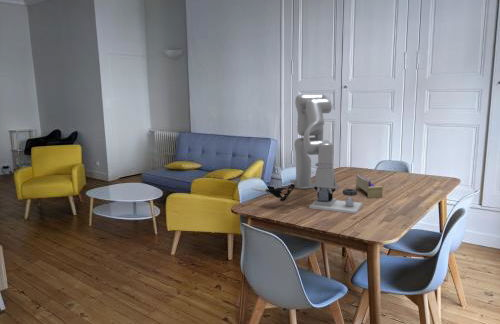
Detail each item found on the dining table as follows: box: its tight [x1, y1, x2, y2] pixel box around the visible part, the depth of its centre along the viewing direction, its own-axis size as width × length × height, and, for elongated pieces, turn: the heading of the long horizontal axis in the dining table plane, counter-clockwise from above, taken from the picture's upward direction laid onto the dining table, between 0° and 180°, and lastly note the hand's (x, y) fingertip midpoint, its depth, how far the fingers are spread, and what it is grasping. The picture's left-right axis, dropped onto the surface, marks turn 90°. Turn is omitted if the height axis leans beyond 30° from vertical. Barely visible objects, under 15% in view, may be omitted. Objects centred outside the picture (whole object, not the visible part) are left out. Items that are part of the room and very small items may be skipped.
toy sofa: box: [355, 173, 384, 199], centre depth 227 cm, size 21×9×10 cm, turn 5°
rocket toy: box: [251, 183, 295, 202], centre depth 205 cm, size 14×6×23 cm
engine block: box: [319, 188, 330, 202], centre depth 204 cm, size 5×6×7 cm
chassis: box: [308, 196, 363, 214], centre depth 202 cm, size 24×16×6 cm, turn 63°
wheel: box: [342, 188, 358, 197], centre depth 198 cm, size 7×7×2 cm
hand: (325, 199), depth 205 cm, fingers closed on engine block, 5 cm apart
